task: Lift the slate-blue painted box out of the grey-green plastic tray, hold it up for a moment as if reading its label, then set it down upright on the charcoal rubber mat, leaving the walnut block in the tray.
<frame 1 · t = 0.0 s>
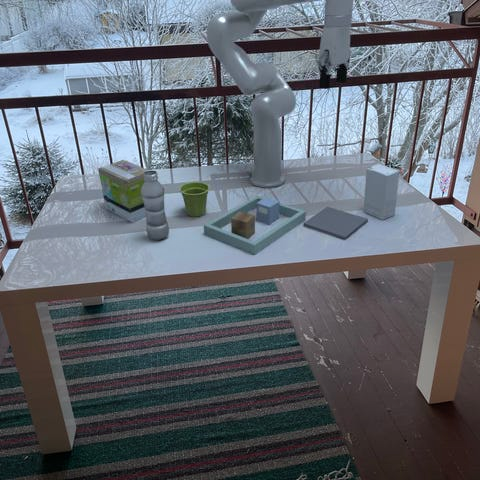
hand: (333, 85, 140), 37 cm above the table, tool pointing down, fingers open, 9 cm apart
plant pot: (196, 213, 151), on the table
slate box: (267, 219, 146), resting in tray
plastic bottle: (158, 237, 138), on the table
skincare box: (377, 214, 148), on the table
mat: (335, 223, 142), on the table
tea box: (130, 211, 153), on the table
walnut block: (243, 234, 138), resting in tray
tray: (256, 226, 142), on the table
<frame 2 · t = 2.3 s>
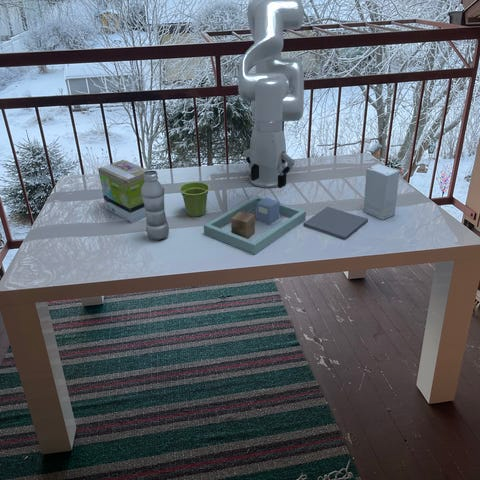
hand: (268, 183, 139), 12 cm above the table, tool pointing down, fingers open, 9 cm apart
nothing on the table moved.
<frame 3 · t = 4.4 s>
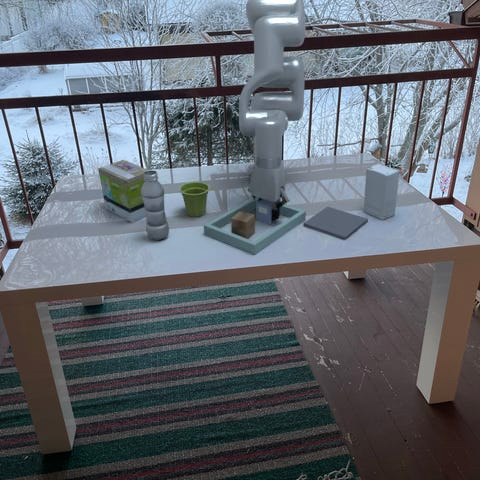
hand: (267, 216, 145), 1 cm above the table, tool pointing down, fingers closed on slate box, 5 cm apart
slate box: (267, 219, 146), resting in tray, touching gripper
everything else where it was.
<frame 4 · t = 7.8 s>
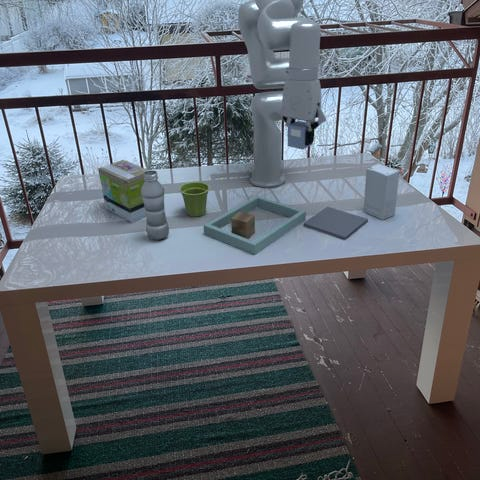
hand: (300, 141, 131), 25 cm above the table, tool pointing down, fingers closed on slate box, 5 cm apart
slate box: (300, 145, 132), point 24 cm above the table, touching gripper
everything else where it was.
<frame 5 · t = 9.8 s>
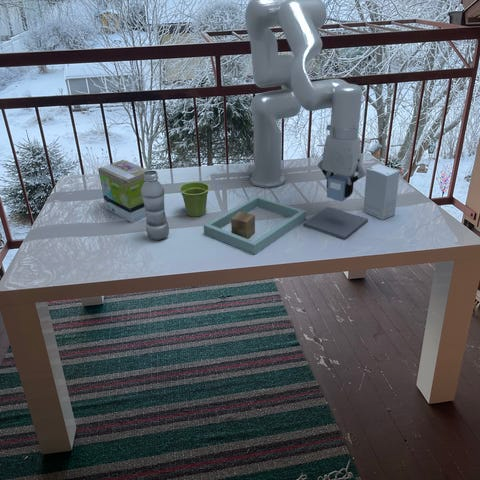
hand: (339, 193, 137), 10 cm above the table, tool pointing down, fingers closed on slate box, 5 cm apart
slate box: (338, 196, 137), point 9 cm above the table, touching gripper
everything else where it was.
when the fingers open (3 cm above the table, at t = 11.6 s): slate box drops 1 cm, resting on mat.
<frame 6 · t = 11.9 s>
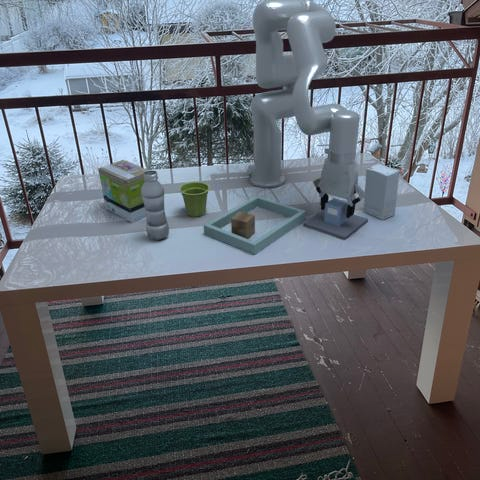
hand: (336, 212, 140), 4 cm above the table, tool pointing down, fingers open, 8 cm apart
slate box: (335, 220, 142), point 1 cm above the table, touching mat
everything else where it was.
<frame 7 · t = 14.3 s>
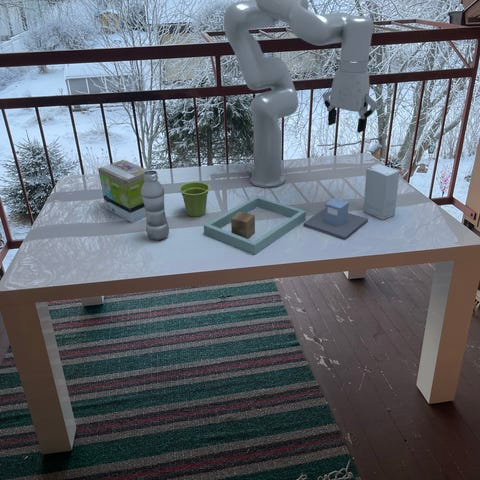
hand: (345, 127, 137), 26 cm above the table, tool pointing down, fingers open, 9 cm apart
nothing on the table moved.
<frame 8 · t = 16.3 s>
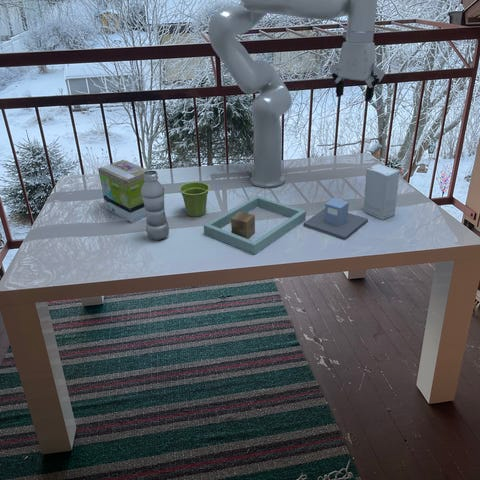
hand: (353, 98, 144), 32 cm above the table, tool pointing down, fingers open, 9 cm apart
nothing on the table moved.
at the end: slate box inside the target area on the mat (0.1 cm from its centre), point 1.0 cm above the mat's base; slate box tilted 0°; the gripper is holding nothing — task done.
